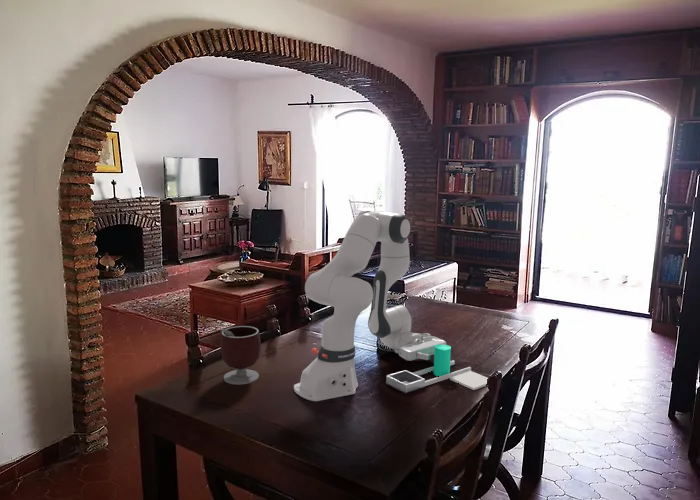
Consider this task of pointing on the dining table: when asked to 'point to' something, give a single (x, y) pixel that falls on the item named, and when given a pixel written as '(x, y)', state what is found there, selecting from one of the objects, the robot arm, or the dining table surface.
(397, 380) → the shallow square tray
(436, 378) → the guide channel
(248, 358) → the mate gourd
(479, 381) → the ceramic tile
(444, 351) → the candle
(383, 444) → the dining table surface
